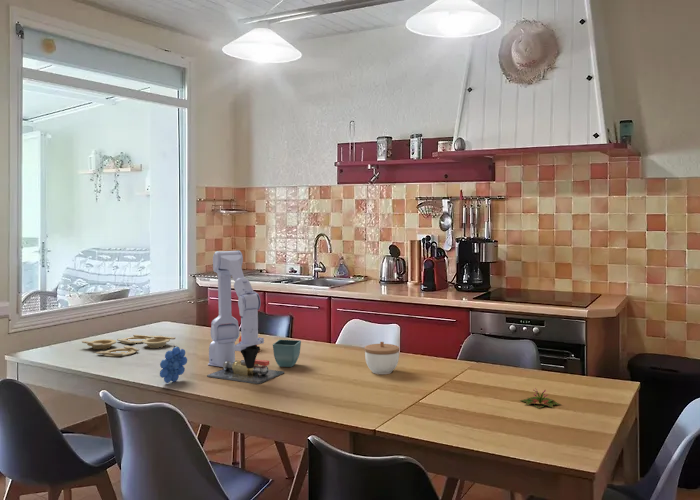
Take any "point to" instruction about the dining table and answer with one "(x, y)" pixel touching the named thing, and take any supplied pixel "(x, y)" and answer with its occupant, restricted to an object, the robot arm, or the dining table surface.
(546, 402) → the lily flower
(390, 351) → the lidded bowl
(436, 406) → the dining table surface
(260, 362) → the lever
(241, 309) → the robot arm
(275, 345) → the flower pot
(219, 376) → the valve body
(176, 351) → the grapes
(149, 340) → the tableware set
